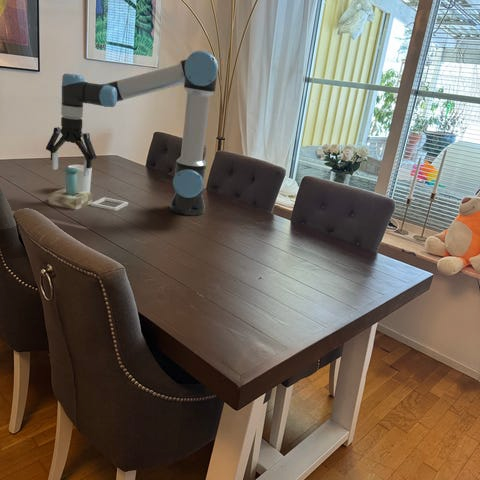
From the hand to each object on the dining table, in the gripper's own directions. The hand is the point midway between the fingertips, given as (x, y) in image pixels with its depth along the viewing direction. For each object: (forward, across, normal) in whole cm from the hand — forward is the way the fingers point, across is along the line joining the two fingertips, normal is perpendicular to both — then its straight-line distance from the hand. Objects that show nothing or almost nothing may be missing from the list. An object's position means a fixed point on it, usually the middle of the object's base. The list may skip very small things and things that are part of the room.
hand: (70, 172), depth 175 cm
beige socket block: (+14, 0, 0) cm, 14 cm away
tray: (+13, -14, -8) cm, 20 cm away
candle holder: (+14, +6, -16) cm, 22 cm away
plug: (+12, 0, 0) cm, 13 cm away
